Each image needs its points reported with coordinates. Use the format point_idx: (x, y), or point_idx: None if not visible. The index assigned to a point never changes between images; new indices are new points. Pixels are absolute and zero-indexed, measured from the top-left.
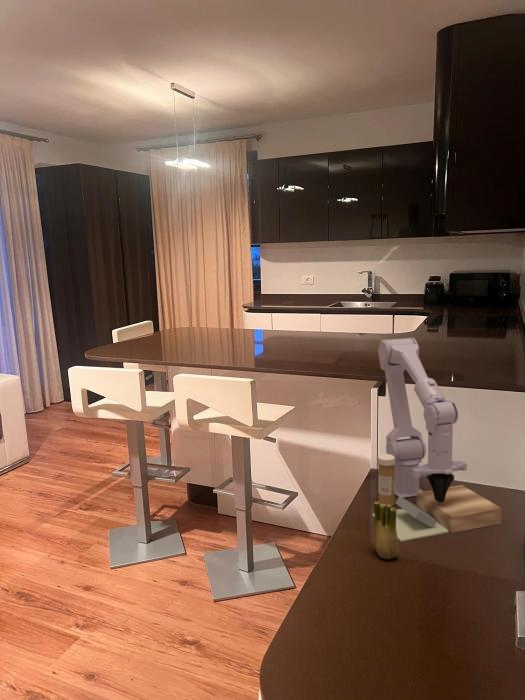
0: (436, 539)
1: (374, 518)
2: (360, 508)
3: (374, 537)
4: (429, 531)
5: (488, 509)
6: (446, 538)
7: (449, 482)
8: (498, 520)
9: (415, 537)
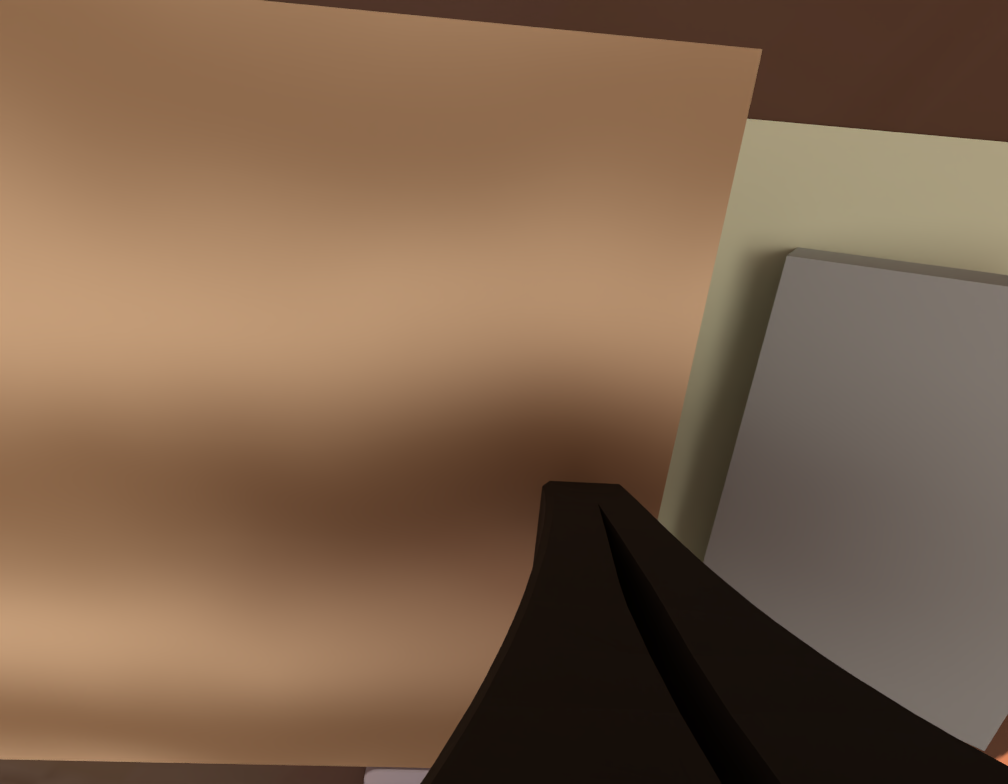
0: (935, 38)
1: None
2: (963, 741)
3: None
4: (892, 198)
5: None
6: (824, 3)
7: (559, 765)
8: None
9: None
